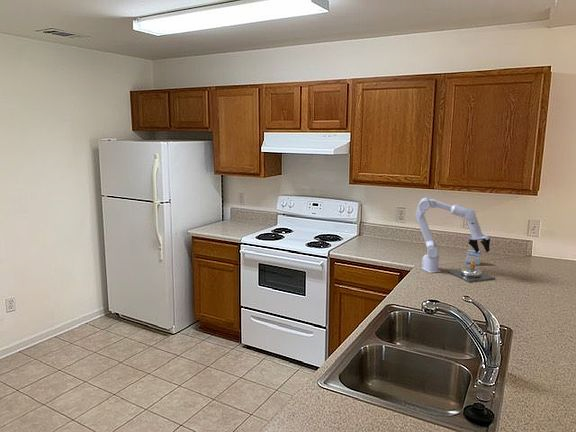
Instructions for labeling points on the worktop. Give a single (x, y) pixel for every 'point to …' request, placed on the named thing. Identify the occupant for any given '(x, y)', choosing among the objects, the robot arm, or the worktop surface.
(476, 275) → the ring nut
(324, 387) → the worktop surface
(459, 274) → the base plate
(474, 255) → the medicine box
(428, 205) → the robot arm
